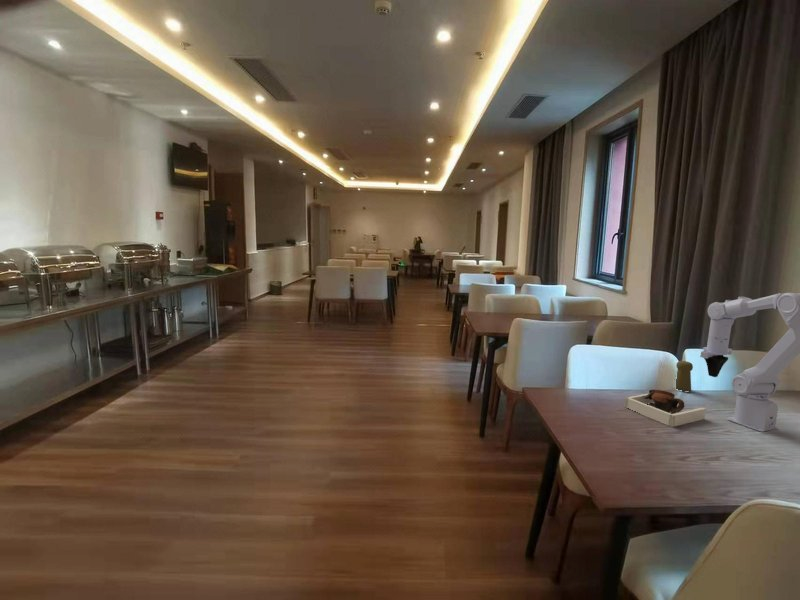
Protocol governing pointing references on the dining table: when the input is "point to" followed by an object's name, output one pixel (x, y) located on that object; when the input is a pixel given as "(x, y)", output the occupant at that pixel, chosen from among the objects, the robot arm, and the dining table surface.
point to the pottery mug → (665, 401)
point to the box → (663, 412)
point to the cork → (684, 375)
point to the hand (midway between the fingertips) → (712, 376)
